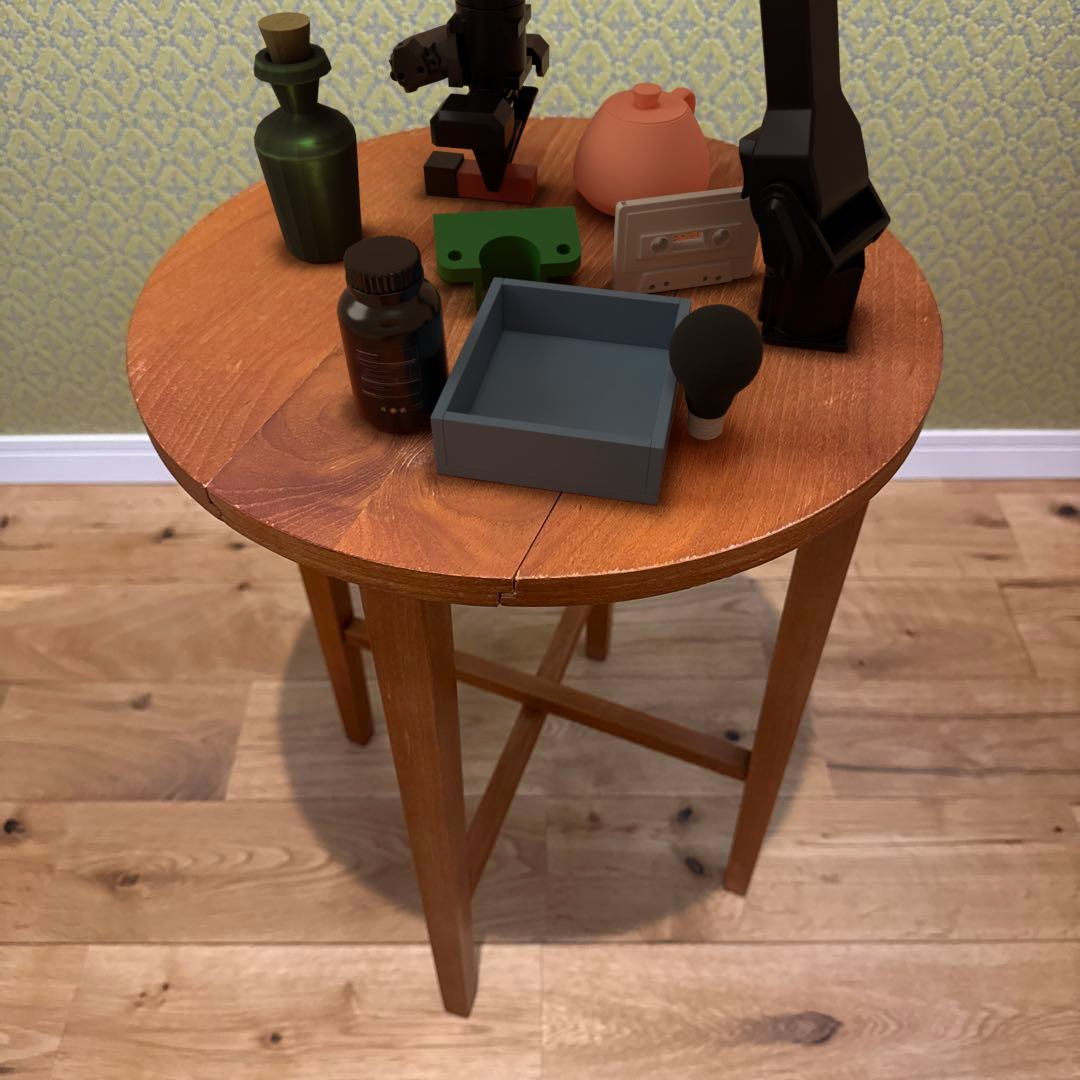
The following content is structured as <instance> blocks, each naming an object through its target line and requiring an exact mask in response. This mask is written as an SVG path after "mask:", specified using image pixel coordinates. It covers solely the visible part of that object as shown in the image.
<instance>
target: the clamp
mask: <svg viewBox="0 0 1080 1080" xmlns="http://www.w3.org/2000/svg"><path fill="white" fill-rule="evenodd" d="M576 214H577V213H576V207H575V206H574V205H572V206H571V205H570V206H554V207H552V206H551V207H538V208H537V207H535V208H518V209H501V210H499V209H498V210H482V211H465V212H448V213H447V212H446V213H433V214H432V220H433V234H434V247H435V261H436V271H437V275H438V277H439V279H440V280H441V281H442V282H444V283H446V284H449V285H467V284H473V295H474V302H475V303H474V304H475V310H476V311H479V310H480V308H481V305H482V303H483V301H484V298H483V295H484V291H485V290H486V289H487V288H488V287H490V286H491V283H492V281H493V279H494V277H497V278H504V279H505V278H507V279H516V280H525V281H534V282H543V283H548V279H558V278H560V279H561V278H564V277H567V276H571V275H574V274H575V273H576V272H578V271H579V270H580V268H581V266H582V265H581V263H582V253H583V252H582V251H583V248H582V243H581V238H580V237H581V236H580V232H579V226H578V220H577V215H576Z"/></svg>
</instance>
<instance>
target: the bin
mask: <svg viewBox="0 0 1080 1080" xmlns="http://www.w3.org/2000/svg"><path fill="white" fill-rule="evenodd" d="M692 301H693V299H692V298H686V297H677V296H669V295H668V296H667V295H659V294H651V293H647V294H641V293H632V292H623V291H614V290H612V289H605V288H598V287H597V288H596V287H586V286H579V285H578V286H577V285H568V284H560V283H550V282H547V283H543V282H534V281H525V280H516V279H507V278H505V279H504V278H497V277H494V279H493V281H492V283H491V284H490V285H489V288H488V290H487V292H486V294H485V297H484V298H483V303H482V305H481V308H480V310H478V312H477V314H476V317H475V319H474V321H473V323H472V325H471V328H470V330H469V332H468V334H467V336H466V338H465V341H464V343H463V345H462V347H461V350H460V352H459V354H458V356H457V359H456V361H455V363H454V365H453V367H452V369H451V370H450V371H451V372H450V373H449V378H448V380H447V382H446V385H445V387H444V389H443V391H442V393H441V396H440V398H439V400H438V402H437V404H436V407H435V409H434V411H433V413H432V415H431V425H430V426H431V436H432V442H433V452H434V461H435V470H436V471H435V472H436V474H437V475H443V476H449V477H450V476H451V477H457V478H465V479H471V480H479V481H484V482H493V483H498V484H505V485H512V486H520V487H526V488H534V489H541V490H549V491H555V492H561V493H569V494H576V495H581V496H590V497H591V496H592V497H597V498H603V499H610V500H617V501H618V500H619V501H624V502H632V503H637V504H638V503H639V504H645V505H652V506H657V505H658V502H659V497H660V492H661V488H662V487H661V486H662V481H663V477H664V476H663V475H664V470H665V465H666V460H667V454H668V449H669V444H670V438H671V432H672V427H673V422H674V417H675V411H676V405H677V398H678V394H679V389H680V385H681V384H680V383H679V381H678V380H677V379H676V377H675V376H674V374H673V371H672V368H671V366H670V362H669V346H670V341H671V338H672V335H673V333H674V331H675V329H676V327H677V326H678V324H679V323H680V322H681V321H682V319H683V318H684V317H686V316H687V315H688V314H690V313H691V312H692V311H691V310H692V303H693V302H692Z"/></svg>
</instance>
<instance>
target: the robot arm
mask: <svg viewBox="0 0 1080 1080" xmlns="http://www.w3.org/2000/svg"><path fill="white" fill-rule="evenodd" d="M758 1H759V3H758V4H759V14H760V15H759V16H760V28H761V43H762V56H763V67H764V81H765V92H766V93H765V94H766V95H765V96H766V104H765V105H766V107H765V112H764V114H763V118H762V122H761V125H760V126H759V127H757V128H756V129H754V130H752V131H751V132H748V133H747V134H746V135H744V136H742V137H741V138H739V141H738V156H739V160H740V165H741V168H742V177H743V181H742V184H743V185H742V186H743V189H742V193H741V198H742V199H745V198H747V197H748V196H749V205H750V209H751V213H752V216H753V218H754V221H755V223H756V224H757V225H758V227H759V240H760V241H759V242H760V247H761V254H762V260H763V264H764V272H763V278H762V283H761V289H760V293H759V299H758V306H757V307H758V308H757V316H756V320H757V321H758V322H759V323H761V331H760V334H761V337H762V342H763V343H767V344H776V345H785V346H791V347H792V346H794V347H801V348H810V349H816V350H817V349H818V350H827V351H836V352H847V351H848V350H849V347H850V326H851V323H852V319H853V315H854V311H855V307H856V304H857V300H858V296H859V292H860V289H861V285H862V281H863V278H864V274H865V270H866V248H868V247H869V246H870V245H871V244H875V243H876V242H877V241H878V240H879V239H880V238H881V237H882V235H883V234H884V232H885V231H886V229H887V228H888V226H889V225H890V224H891V221H892V220H891V219H892V218H891V216H890V214H889V212H888V210H887V208H886V207H885V205H884V203H883V201H882V198H881V197H880V196H879V193H878V191H877V189H876V188H875V186H874V185H873V183H872V181H871V178H870V177H869V175H870V174H869V165H868V158H867V152H866V147H865V142H864V141H865V140H864V136H863V131H862V126H861V123H860V121H859V120H858V118H857V115H856V114H855V112H854V111H853V109H852V107H851V105H850V103H849V102H848V100H847V98H846V96H845V94H844V92H843V88H842V84H841V62H840V61H841V60H840V57H841V56H840V34H839V33H840V32H839V30H840V29H839V27H840V26H839V2H838V0H758ZM526 2H527V0H454V4H455V5H454V6H455V7H454V8H455V11H454V13H453V14H452V15H451V16H450V18H449V19H447V22H446V24H442V25H439V26H437V27H432V28H430V29H427V30H425V31H422V32H418V33H416V34H413V35H411V36H408V37H407V38H404V39H403V40H402V41H399V42H398V43H397V44H396V45H395V46H394V48H393V49H392V52H391V54H390V55H389V59H388V63H389V65H390V72H389V77H390V79H391V80H392V81H393V82H397V84H398V85H399V86H400V87H402V88H403V90H404V93H405V94H411V93H414V92H417V91H418V89H419V88H422V87H425V86H429V85H431V84H435V83H437V82H441V81H444V80H446V79H447V85H448V87H447V88H457V89H463V88H464V87H468V92H467V93H466V94H465V93H454V92H451V93H449V95H447V96H446V97H445V99H443V101H442V102H441V103H440V104H439V106H438V107H437V109H436V110H435V112H434V113H433V115H432V116H431V118H430V119H429V130H430V141H431V144H432V145H433V146H435V147H437V148H448V149H456V150H457V149H459V150H467V151H468V150H470V151H472V153H473V157H474V158H475V160H476V161H477V164H478V167H479V169H480V172H481V175H482V178H483V181H484V183H485V186H486V189H487V191H490V192H498V191H499V190H500V187H501V184H502V181H503V178H504V175H505V172H506V169H507V166H508V163H513V160H514V158H515V156H516V152H517V149H518V147H519V145H520V142H521V138H522V137H523V134H524V130H525V128H526V125H527V123H528V120H529V119H530V115H531V113H532V110H533V107H534V104H535V102H536V100H537V97H538V94H539V91H540V89H539V87H537V86H534V85H533V86H531V85H524V84H525V81H526V80H527V78H528V77H529V74H530V73H531V71H532V69H533V66H535V73H536V74H535V75H536V76H537V77H538V78H544V77H545V76H546V74H547V72H548V70H549V68H550V44H549V43H548V42H547V41H546V40H545V39H544V38H543V36H542V35H541V33H528V32H527V26H528V23H529V22H530V20H531V19H532V4H531V3H526Z"/></svg>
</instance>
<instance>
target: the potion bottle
mask: <svg viewBox="0 0 1080 1080" xmlns="http://www.w3.org/2000/svg"><path fill="white" fill-rule="evenodd" d="M257 26H258V29H259V31H260V34H261V36H262V39H263V41H264V43H265V47H264V48H261V49H260V50H258V51H257V53H256V54H255V55H254V63H253V76H254V77H255V78H256V79H257V80H259V81H260V82H263V83H268V84H270V87H271V88H272V90H273V93H274V95H275V97H276V100H277V101H278V104H279V107H277V108H276V109H274V110H273V111H272V112H270V113H269V114H267V115H265V116H264V117H263V118H262V119H261V120H260V121H259V123H258V124H257V126H256V129H255V132H254V136H253V145H254V146H253V147H254V149H255V152H256V153H255V154H256V155H257V159H258V162H259V165H260V168H261V172H262V175H263V179H264V181H265V185H266V187H267V191H268V193H269V197H270V200H271V204H272V206H273V210H274V212H275V216H276V219H277V222H278V225H279V228H280V231H281V235H282V238H283V240H284V244H285V247H286V250H287V251H288V252H289V253H290V254H291V255H292V256H293V257H294V258H297V259H298V260H301V261H304V262H307V263H317V264H322V263H330V262H337V261H339V260H342V259H344V255H345V251H347V250H348V248H349V247H351V246H352V244H355V243H356V242H358V241H360V240H363V226H362V210H361V209H362V208H361V207H362V206H361V191H360V176H359V158H358V141H357V140H358V139H357V132H356V128H355V126H354V125H353V123H352V122H351V120H350V119H349V118H348V116H347V115H345V114H344V113H343V112H341V111H340V110H339V109H336V108H333V107H330V106H328V105H326V104H323V103H321V102H319V93H320V92H319V91H320V79H322V78H323V77H325V76H327V75H328V74H329V73H330V72H331V71H332V68H333V67H332V63H331V61H330V59H329V57H328V55H327V53H326V51H325V48H323V47H322V46H320V45H319V44H316V43H312V42H311V18H310V16H308V15H306V14H305V13H301V12H295V11H293V12H292V11H285V12H276V13H271V14H267V15H265V16H263V17H261V18H260V19H259V20H258V21H257Z"/></svg>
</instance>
